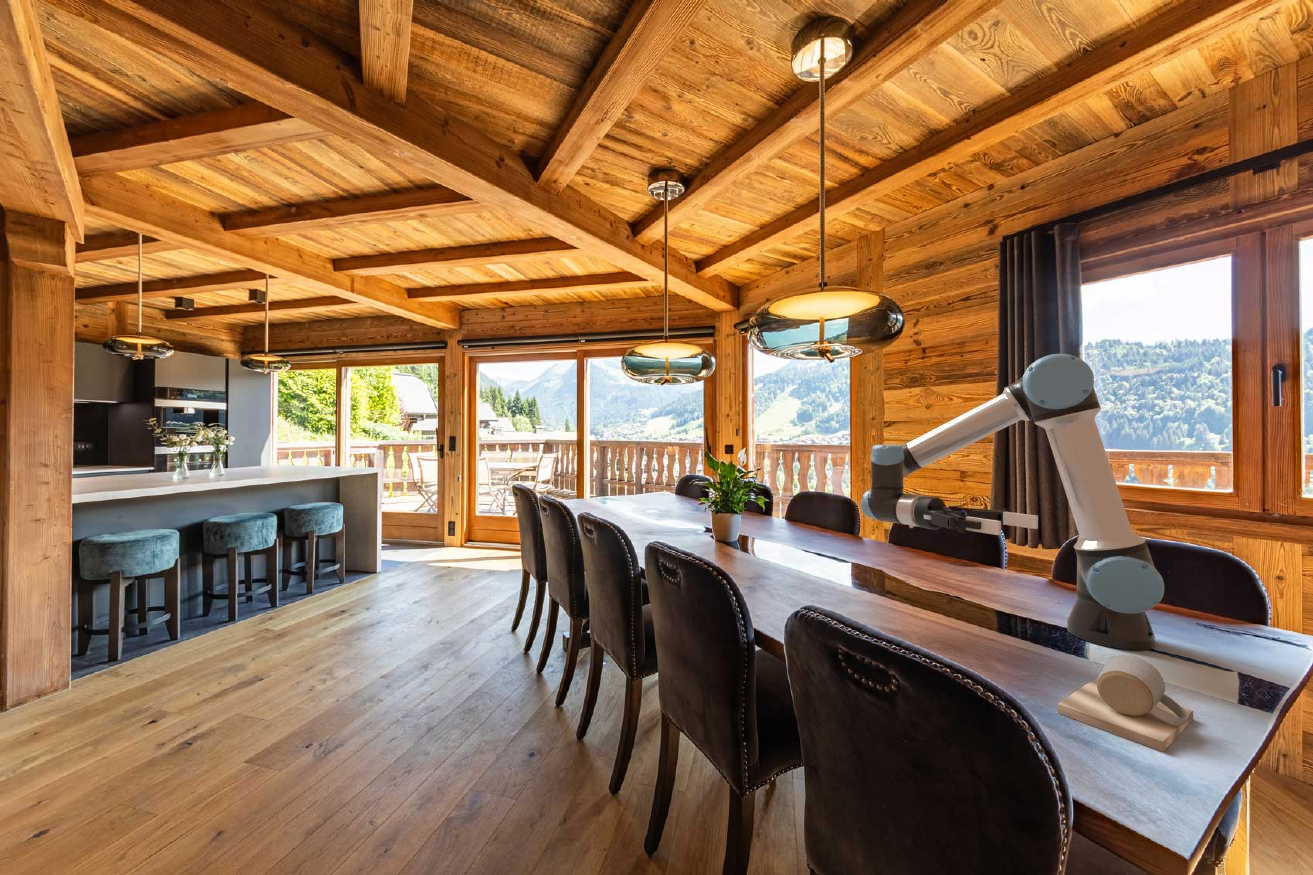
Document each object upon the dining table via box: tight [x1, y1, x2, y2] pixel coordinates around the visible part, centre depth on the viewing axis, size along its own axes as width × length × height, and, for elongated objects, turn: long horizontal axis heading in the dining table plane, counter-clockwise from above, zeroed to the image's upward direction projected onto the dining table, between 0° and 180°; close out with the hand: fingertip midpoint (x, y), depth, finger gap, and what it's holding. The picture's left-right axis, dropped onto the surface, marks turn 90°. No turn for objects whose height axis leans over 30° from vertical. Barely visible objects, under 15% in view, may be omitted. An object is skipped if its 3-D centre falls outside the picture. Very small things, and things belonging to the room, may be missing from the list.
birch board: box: [1057, 678, 1194, 753], centre depth 87 cm, size 16×13×2 cm
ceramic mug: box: [1096, 654, 1189, 726], centre depth 85 cm, size 11×8×8 cm
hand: (1019, 525), depth 106 cm, fingers open, 13 cm apart
